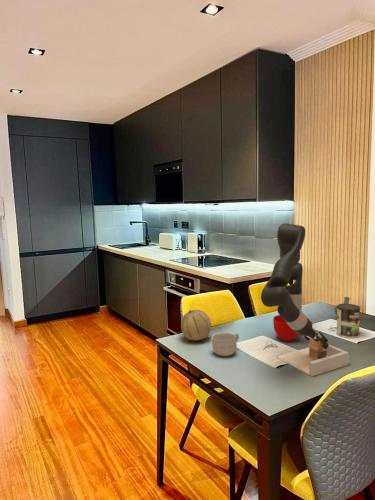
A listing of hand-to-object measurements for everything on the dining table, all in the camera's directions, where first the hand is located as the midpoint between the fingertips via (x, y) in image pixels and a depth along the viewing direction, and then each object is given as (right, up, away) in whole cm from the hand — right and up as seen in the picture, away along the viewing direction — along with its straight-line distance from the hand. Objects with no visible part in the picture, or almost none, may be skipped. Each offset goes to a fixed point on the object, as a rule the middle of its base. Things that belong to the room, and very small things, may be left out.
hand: (318, 343), depth 149 cm
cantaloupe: (-50, -5, +27) cm, 57 cm away
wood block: (0, -6, +1) cm, 6 cm away
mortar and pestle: (+32, 0, +49) cm, 59 cm away
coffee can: (+24, -3, +28) cm, 37 cm away
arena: (-3, -7, 0) cm, 8 cm away
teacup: (-36, -7, +10) cm, 38 cm away
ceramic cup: (-5, -4, +23) cm, 24 cm away
